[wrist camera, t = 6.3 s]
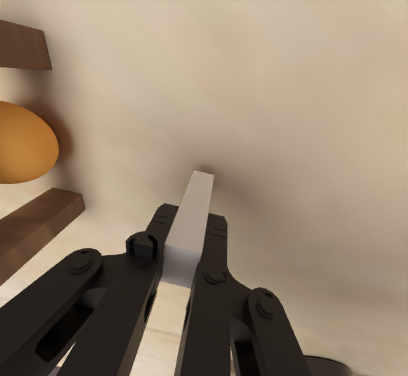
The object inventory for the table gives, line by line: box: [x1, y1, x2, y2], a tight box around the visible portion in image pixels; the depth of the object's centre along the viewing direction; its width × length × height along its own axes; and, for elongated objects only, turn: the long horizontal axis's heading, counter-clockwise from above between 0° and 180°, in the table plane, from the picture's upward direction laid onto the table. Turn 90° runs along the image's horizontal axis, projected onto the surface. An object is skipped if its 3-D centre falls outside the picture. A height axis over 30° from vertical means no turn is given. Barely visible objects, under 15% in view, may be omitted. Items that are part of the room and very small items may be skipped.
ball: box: [0, 101, 59, 184], centre depth 12 cm, size 6×6×6 cm
